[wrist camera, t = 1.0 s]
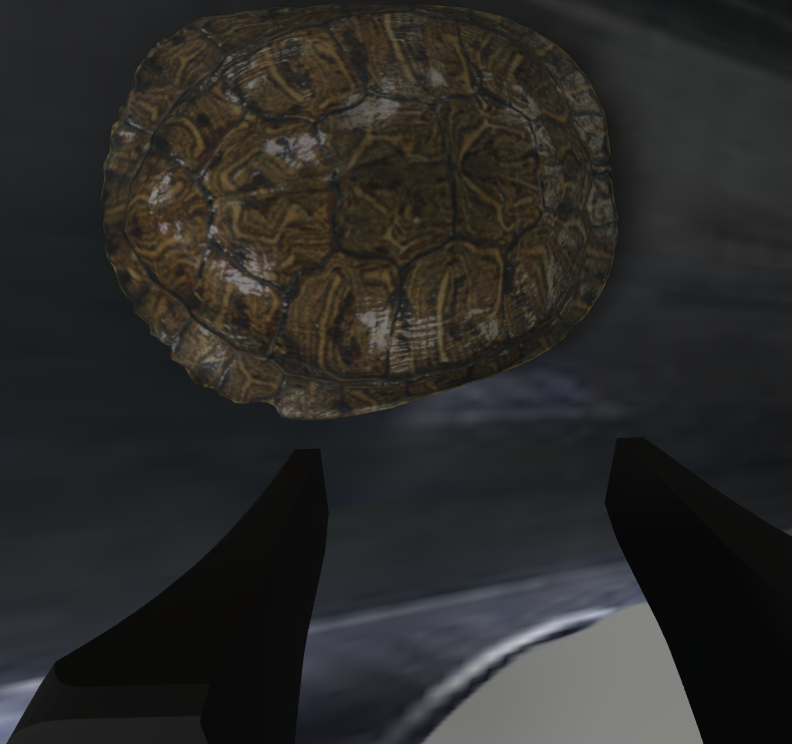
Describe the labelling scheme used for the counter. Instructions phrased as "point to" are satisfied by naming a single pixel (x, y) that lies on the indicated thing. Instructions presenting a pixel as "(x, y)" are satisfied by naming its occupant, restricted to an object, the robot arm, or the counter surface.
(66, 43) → the counter surface
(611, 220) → the turtle shell
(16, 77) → the counter surface
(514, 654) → the counter surface
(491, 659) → the counter surface
